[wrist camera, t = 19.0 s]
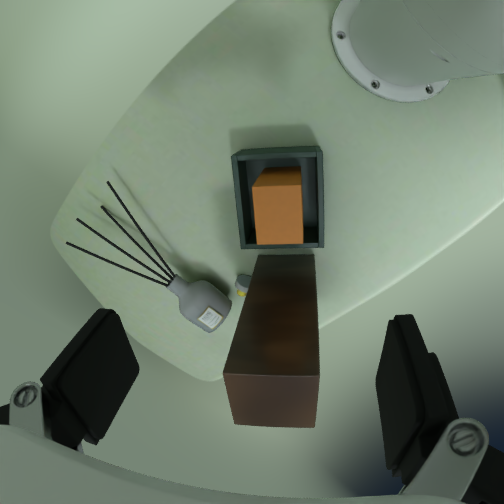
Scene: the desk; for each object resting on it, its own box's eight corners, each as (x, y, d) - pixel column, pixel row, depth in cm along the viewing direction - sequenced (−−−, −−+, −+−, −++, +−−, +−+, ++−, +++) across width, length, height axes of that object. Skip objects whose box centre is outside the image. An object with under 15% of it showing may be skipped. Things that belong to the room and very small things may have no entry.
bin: (319, 145, 28) (322, 151, 24) (321, 229, 31) (324, 247, 27) (240, 149, 29) (230, 155, 25) (248, 231, 33) (240, 249, 29)
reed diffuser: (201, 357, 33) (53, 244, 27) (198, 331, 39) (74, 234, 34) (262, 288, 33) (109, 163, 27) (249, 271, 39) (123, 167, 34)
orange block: (300, 166, 29) (301, 184, 21) (302, 211, 30) (303, 244, 23) (264, 167, 29) (251, 186, 22) (267, 212, 31) (256, 244, 24)
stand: (314, 254, 33) (319, 375, 18) (313, 301, 35) (314, 427, 20) (257, 255, 34) (222, 372, 19) (261, 302, 36) (234, 424, 21)
